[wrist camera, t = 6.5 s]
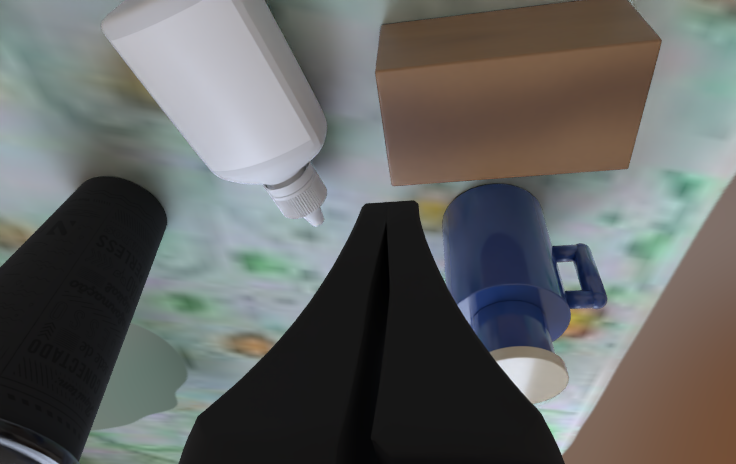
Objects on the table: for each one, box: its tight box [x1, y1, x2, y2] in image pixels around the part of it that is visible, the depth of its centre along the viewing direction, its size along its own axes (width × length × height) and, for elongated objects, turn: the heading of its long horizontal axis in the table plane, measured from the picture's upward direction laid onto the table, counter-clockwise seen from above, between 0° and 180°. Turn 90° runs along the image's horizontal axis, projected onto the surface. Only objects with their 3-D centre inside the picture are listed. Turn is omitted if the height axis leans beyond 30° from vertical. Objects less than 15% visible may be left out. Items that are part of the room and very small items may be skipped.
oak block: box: [375, 0, 662, 186], centre depth 19 cm, size 5×9×4 cm, turn 98°
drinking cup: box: [0, 177, 167, 464], centre depth 20 cm, size 8×8×20 cm
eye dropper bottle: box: [101, 0, 327, 227], centre depth 21 cm, size 4×6×12 cm
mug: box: [442, 184, 607, 404], centre depth 23 cm, size 9×7×10 cm
